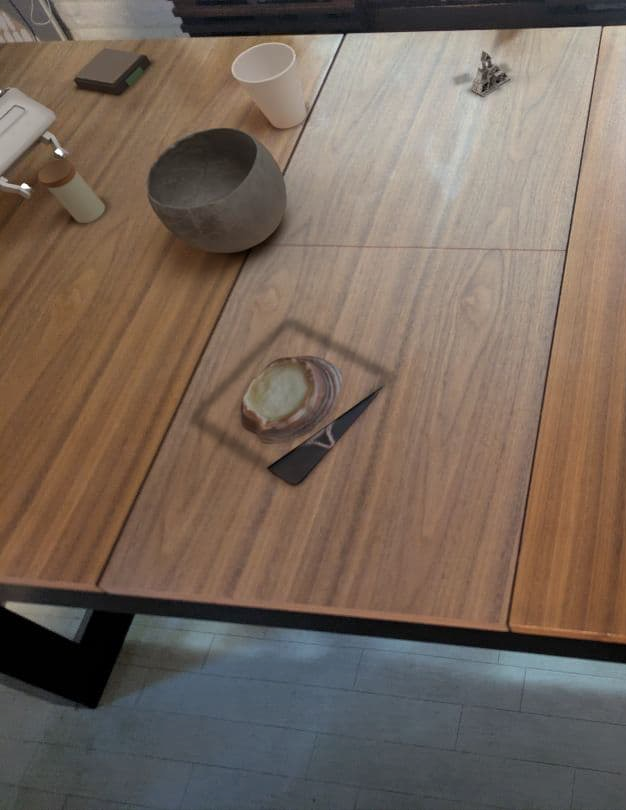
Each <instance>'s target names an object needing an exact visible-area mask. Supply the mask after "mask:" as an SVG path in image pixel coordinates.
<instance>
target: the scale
mask: <svg viewBox="0 0 626 810" xmlns="http://www.w3.org/2000/svg"><path fill="white" fill-rule="evenodd" d="M151 65H152V62H151V61H150V59H149V57H148V56H147V55H146V54H142V53H139V52H134V51H133V52H132V51H127V50H120V49H115V48H106V47H104V48H103V49H102V50H101V51H99V53H97V54H96V55H95V56H94V57H93V58H92V59H91V60H90V61H89V62H88V63H87V64H86V65H85V66H84V67H83V68H82V69H81V70H80V71H78V72H77V73H76V74H75V75H74V78H73V82H74V83H75V85H76V87H77V88H78V89H80V90H85V91H86V90H87V91H92V92H99V93H104V94H109V95H115V96H121V95H122V94H123V93H125V91H126V90H127V89H128V88H130V87H131V86H133V84H135V82H136V81H138V79H139V78H140V77H141V76H142V75H143V74H144V73H145V71H146V70H147V69H148V67H150V66H151Z"/></svg>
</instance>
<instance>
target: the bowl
mask: <svg viewBox="0 0 626 810" xmlns="http://www.w3.org/2000/svg"><path fill="white" fill-rule="evenodd" d="M146 177H147V178H146V184H145V185H146V195H147V199H148V203H149V205H150V206H151V208H152V210H153V212H154V213H155V215H156V216H157V218H158V219H159V221H160V222H161V223H162V224H163V226H164V228H166V230H168V231H169V232H170V233H171V234H172V235H173V236H175V237H176V238H177V239H179V240H180V241H182V242H183V243H186V244H188V245H189V246H191V247H194V248H196V249H198V250H201V251H203V252H208V253H212V254H213V253H215V254H233V253H241V252H243V251H246V250H249V249H251V248H253V247H256V246H257V245H259V244H261V243H262V242H264V241H265V240H266V239H268V238H269V237H270V236H271V235H272V234H273V233H274V232H275V231H276V229H277V228H278V227H279V225H280V223H281V222H282V219H283V217H284V214H285V210H286V207H287V198H288V197H287V187H286V186H287V185H286V182H285V178H284V174H283V173H282V170H281V168H280V166H279V163H278V162H277V160H276V159H275V158H274V156H273V154H272V153H271V152H270V151H269V149H268V148H267V147H266V146H265V145H264V144H263V143H262V142H261V141H259V140H258V139H257V138H256V137H254V136H253V135H251V134H250V133H248V132H246V131H244V130H241V129H239V128H238V129H237V128H232V127H231V128H230V127H214V128H208V129H204V130H200V131H196V132H193V133H190V134H188V135H186V136H183V137H181V138H180V139H178V140H176V141H175V142H174V143H173V144H172V145H171V146H169V147H167V148H166V149H165V150H164V151H162V153H161V154H160V155H159V156H158V157H157V158H156V160H155V161H154V162H153V163H152V164H151V166H150V168H149V170H148V174H147V176H146Z"/></svg>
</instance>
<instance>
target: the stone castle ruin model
mask: <svg viewBox="0 0 626 810" xmlns="http://www.w3.org/2000/svg"><path fill="white" fill-rule="evenodd" d="M479 61H480V62H481V67H479V66H478V67H477V70H476V77H475V78H473V79H472V84H471V88H470V90H471V91H472V92H474V93H475V94H476V95H480V97H483V98H485V97H486V96H487V95H489V94H490V93H492V92H493V91H495V90H496V89H497V90H498V89H499V88H500V87H501V86H503V85H504V84H506V83H507V82H508V81H511V77H510V76H508V75H507V74H506V72H505V71H504V70H502V69H500V68H499V67H498V65H497V64H495V63H494V62H492V57H491V56H490V54H489V53H488V52H486V51H484V50H482V51H481V55H480V60H479ZM486 63H487V64H486Z"/></svg>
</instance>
